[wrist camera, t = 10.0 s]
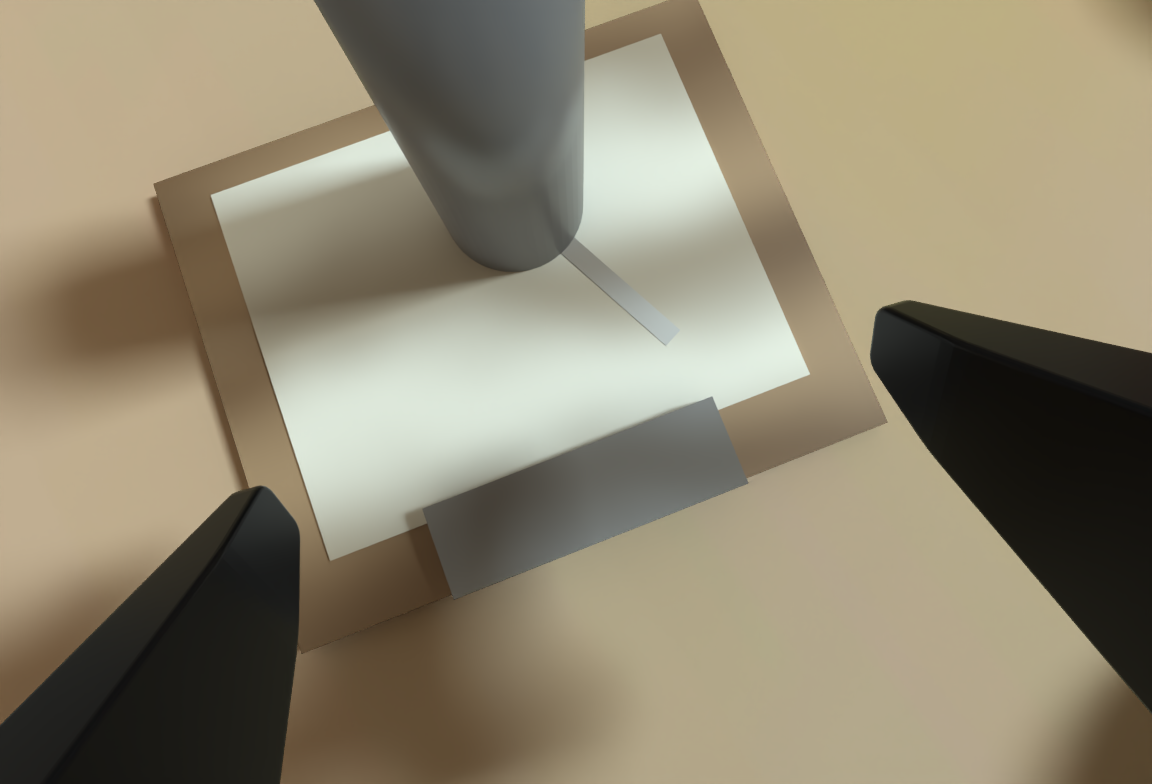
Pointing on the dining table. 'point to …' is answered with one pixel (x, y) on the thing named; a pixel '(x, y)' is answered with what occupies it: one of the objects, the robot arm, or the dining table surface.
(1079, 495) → the robot arm
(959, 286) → the dining table surface
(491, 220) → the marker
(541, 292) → the clipboard
